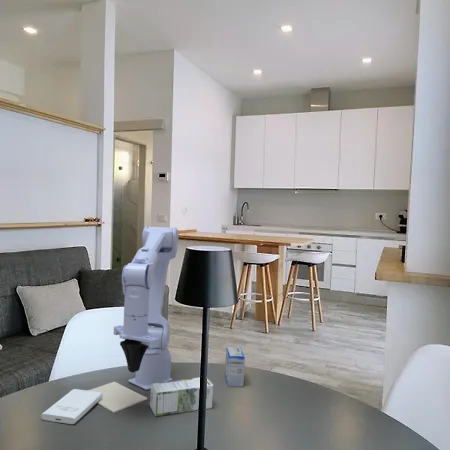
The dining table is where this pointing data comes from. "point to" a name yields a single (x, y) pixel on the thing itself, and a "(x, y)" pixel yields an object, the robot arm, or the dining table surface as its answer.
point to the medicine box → (234, 367)
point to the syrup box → (178, 396)
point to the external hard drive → (72, 406)
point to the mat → (117, 397)
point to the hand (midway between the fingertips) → (133, 370)
